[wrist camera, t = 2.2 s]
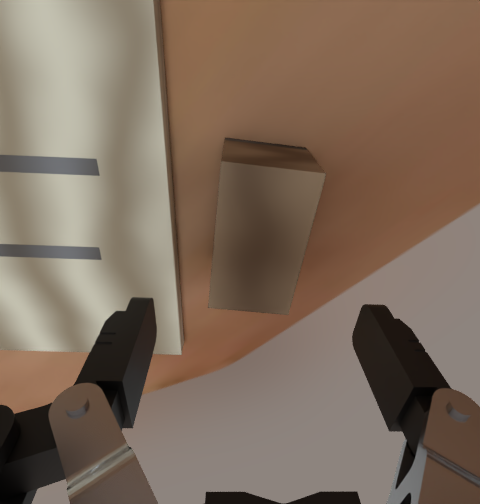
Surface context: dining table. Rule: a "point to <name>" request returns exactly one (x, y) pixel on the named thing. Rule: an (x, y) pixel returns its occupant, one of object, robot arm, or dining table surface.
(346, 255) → the dining table surface
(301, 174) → the block
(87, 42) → the board
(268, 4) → the dining table surface
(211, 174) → the dining table surface
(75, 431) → the robot arm
